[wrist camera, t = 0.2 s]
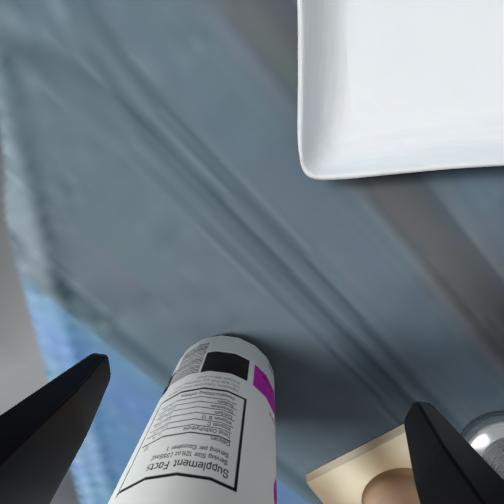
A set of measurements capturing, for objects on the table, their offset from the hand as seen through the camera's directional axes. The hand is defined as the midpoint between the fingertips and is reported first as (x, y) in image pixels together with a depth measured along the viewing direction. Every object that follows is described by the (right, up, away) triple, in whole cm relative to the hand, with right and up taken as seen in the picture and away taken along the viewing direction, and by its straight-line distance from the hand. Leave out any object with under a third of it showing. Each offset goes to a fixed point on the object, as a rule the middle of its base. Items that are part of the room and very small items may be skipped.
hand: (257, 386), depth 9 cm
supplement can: (-2, -7, +18) cm, 19 cm away
